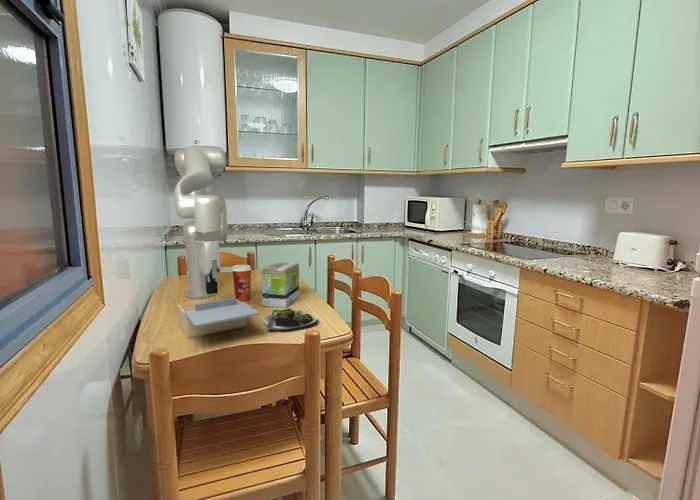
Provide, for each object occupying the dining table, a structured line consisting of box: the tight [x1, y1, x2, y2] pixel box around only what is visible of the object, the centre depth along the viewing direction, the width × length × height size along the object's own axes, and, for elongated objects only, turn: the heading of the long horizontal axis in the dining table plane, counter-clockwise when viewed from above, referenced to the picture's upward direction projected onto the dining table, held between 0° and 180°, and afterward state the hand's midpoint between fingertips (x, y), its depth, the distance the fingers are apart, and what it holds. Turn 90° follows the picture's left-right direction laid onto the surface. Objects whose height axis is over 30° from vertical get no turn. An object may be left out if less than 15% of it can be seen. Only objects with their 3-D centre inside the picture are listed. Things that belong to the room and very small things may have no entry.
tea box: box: [261, 262, 300, 309], centre depth 148 cm, size 15×10×15 cm
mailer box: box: [176, 295, 248, 339], centre depth 122 cm, size 14×18×7 cm
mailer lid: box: [184, 298, 260, 327], centre depth 111 cm, size 14×18×3 cm
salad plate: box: [262, 307, 318, 333], centre depth 126 cm, size 19×18×5 cm
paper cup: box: [231, 264, 252, 303], centre depth 150 cm, size 8×8×14 cm
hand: (211, 293), depth 119 cm, fingers closed
